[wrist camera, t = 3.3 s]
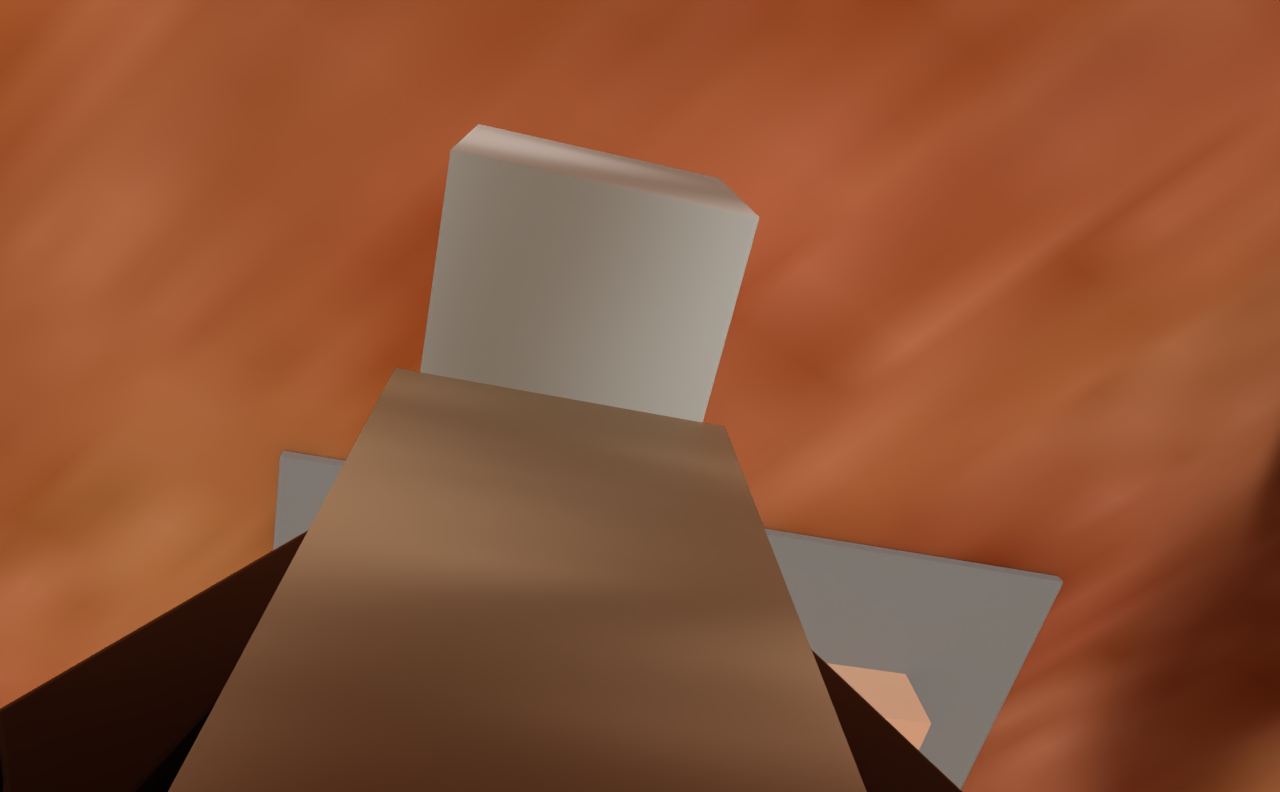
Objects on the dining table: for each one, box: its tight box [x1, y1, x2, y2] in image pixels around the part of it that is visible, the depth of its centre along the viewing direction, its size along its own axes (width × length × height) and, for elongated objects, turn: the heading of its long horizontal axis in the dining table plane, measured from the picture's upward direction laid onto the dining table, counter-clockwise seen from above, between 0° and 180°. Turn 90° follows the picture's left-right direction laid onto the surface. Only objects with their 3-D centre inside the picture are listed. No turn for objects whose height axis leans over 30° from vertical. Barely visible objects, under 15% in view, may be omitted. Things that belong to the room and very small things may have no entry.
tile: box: [827, 663, 931, 750], centre depth 25 cm, size 5×5×2 cm
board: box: [273, 451, 1063, 790], centre depth 25 cm, size 22×13×1 cm, turn 77°
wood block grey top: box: [168, 124, 867, 792], centre depth 8 cm, size 4×8×9 cm, turn 167°
